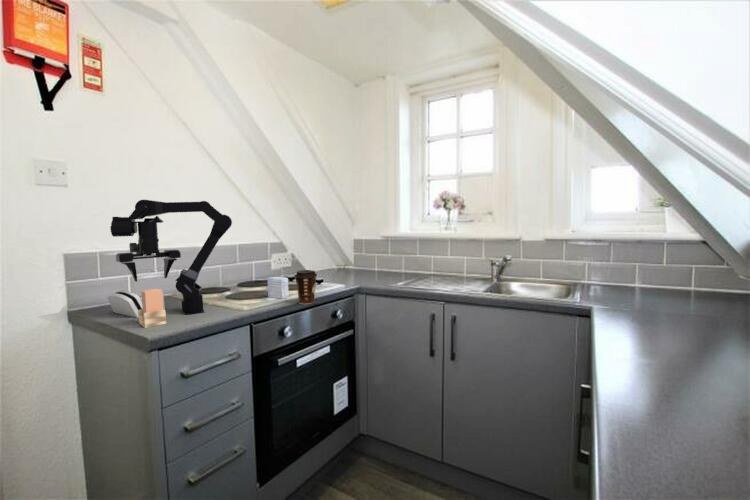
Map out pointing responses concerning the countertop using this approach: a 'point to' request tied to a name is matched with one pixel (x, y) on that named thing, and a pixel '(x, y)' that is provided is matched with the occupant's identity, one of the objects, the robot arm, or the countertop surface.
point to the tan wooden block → (152, 318)
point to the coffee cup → (306, 286)
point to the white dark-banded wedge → (125, 303)
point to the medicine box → (278, 287)
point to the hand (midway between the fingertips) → (151, 279)
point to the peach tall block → (152, 300)
